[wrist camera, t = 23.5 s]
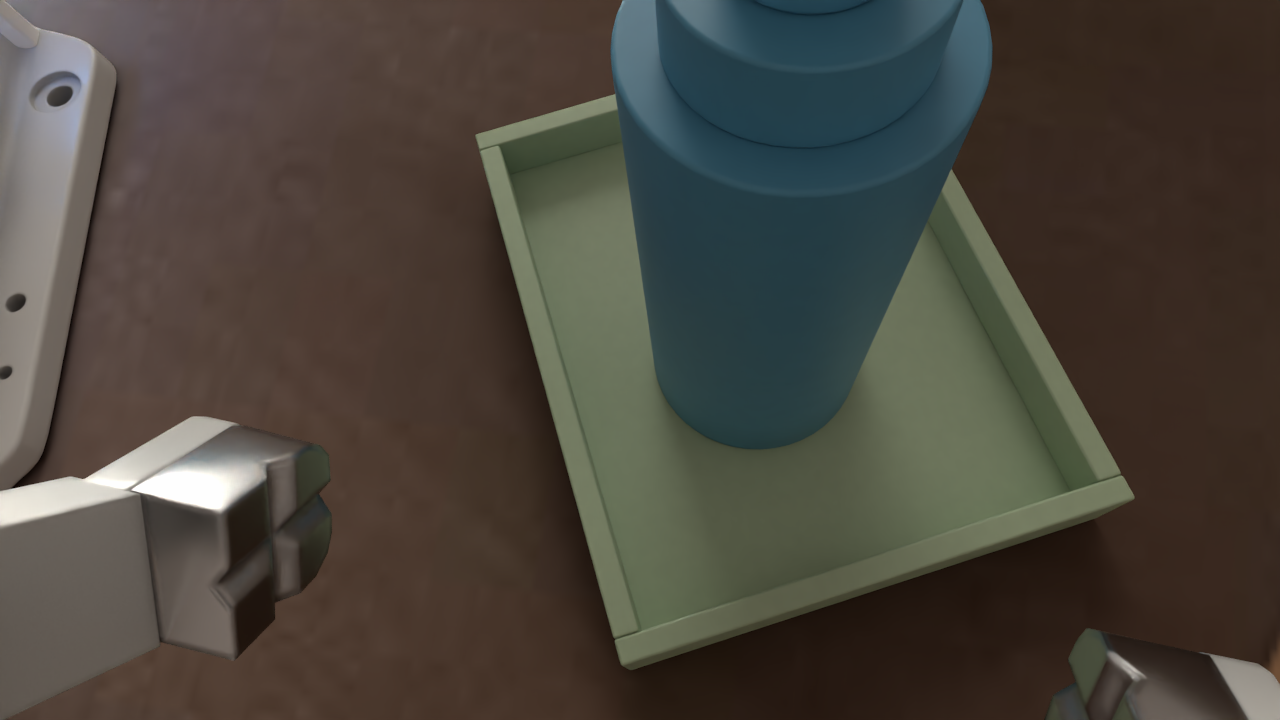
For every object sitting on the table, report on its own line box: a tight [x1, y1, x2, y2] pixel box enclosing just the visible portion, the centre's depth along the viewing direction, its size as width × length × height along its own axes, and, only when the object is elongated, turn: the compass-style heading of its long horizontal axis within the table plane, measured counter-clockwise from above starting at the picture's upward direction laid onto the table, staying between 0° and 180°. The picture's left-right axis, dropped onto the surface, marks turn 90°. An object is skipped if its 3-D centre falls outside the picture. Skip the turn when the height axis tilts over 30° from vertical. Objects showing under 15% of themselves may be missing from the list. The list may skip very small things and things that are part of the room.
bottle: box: [610, 0, 993, 449], centre depth 15 cm, size 5×5×16 cm
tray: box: [476, 94, 1134, 670], centre depth 22 cm, size 15×12×2 cm
